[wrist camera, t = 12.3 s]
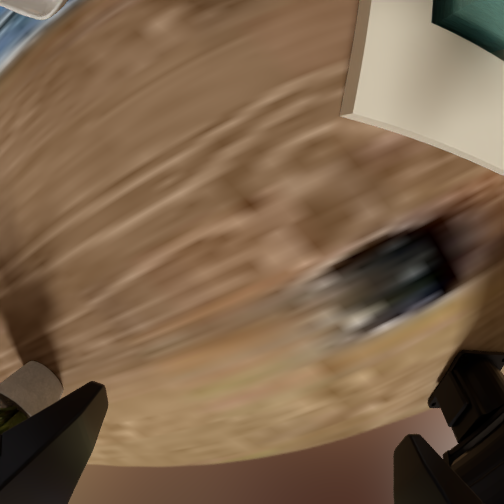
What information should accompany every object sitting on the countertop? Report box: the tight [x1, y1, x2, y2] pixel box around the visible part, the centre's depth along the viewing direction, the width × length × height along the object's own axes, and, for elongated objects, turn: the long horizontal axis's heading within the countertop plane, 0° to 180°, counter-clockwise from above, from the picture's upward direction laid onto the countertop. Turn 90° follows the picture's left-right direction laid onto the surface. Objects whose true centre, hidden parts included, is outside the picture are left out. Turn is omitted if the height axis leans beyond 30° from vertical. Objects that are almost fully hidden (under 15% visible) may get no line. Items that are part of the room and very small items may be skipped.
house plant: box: [0, 361, 63, 434], centre depth 19 cm, size 14×14×16 cm
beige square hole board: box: [340, 0, 504, 175], centre depth 12 cm, size 12×18×4 cm, turn 170°
